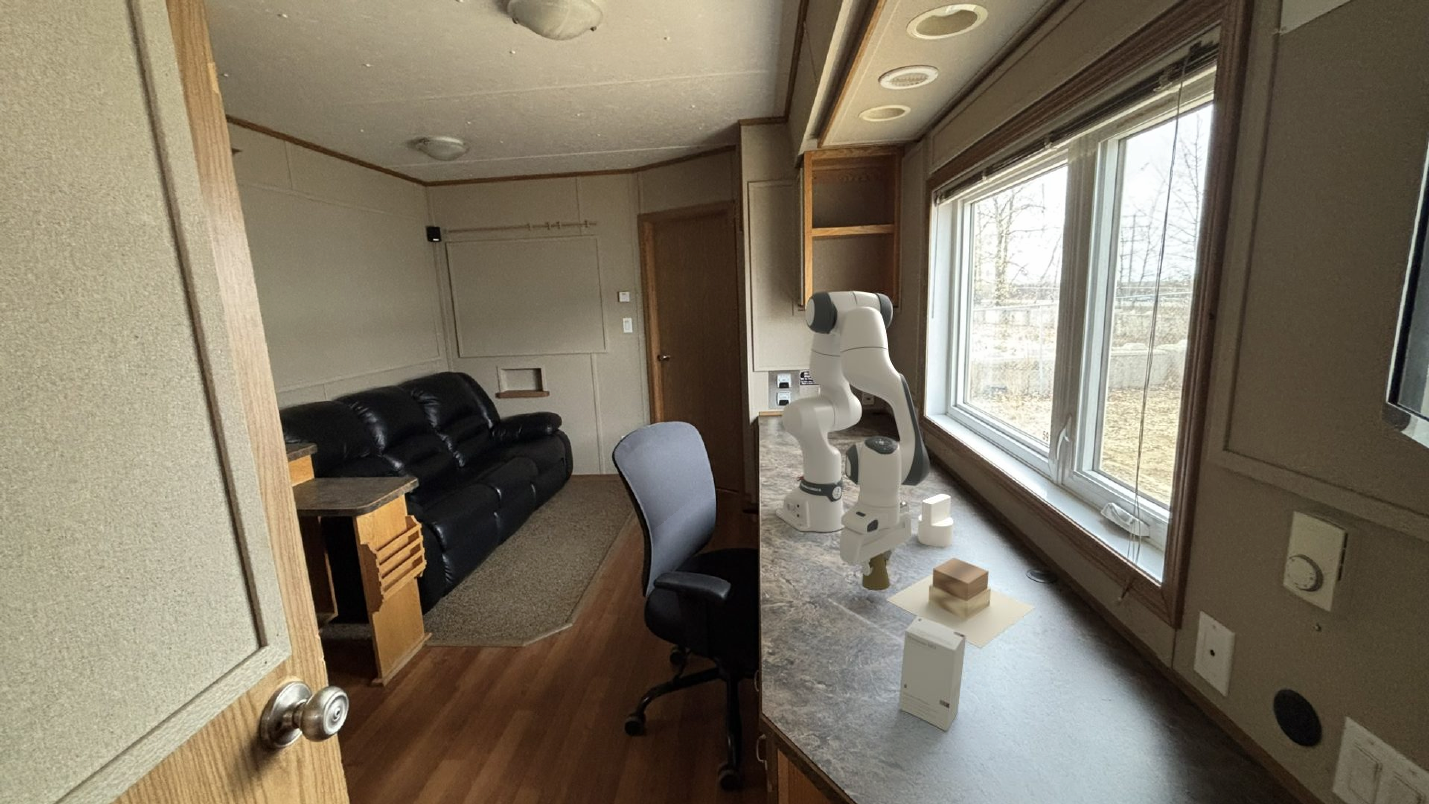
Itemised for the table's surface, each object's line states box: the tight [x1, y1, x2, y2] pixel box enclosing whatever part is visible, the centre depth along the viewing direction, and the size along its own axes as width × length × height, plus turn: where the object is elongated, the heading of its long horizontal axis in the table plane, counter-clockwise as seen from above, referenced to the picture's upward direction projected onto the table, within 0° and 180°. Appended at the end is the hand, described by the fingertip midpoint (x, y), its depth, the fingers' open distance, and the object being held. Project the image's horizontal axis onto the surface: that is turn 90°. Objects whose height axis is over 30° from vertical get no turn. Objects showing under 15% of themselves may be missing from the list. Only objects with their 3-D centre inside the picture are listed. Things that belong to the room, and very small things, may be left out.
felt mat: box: [885, 573, 1036, 649], centre depth 122 cm, size 22×22×1 cm
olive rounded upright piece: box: [861, 553, 891, 592], centre depth 124 cm, size 6×6×11 cm
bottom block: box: [928, 584, 992, 620], centre depth 121 cm, size 9×9×4 cm
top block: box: [932, 557, 990, 601], centre depth 120 cm, size 8×8×4 cm
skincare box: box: [898, 615, 967, 732], centre depth 91 cm, size 8×6×15 cm
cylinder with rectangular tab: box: [917, 493, 954, 548], centre depth 152 cm, size 9×9×12 cm
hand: (876, 569), depth 124 cm, fingers closed on olive rounded upright piece, 5 cm apart
